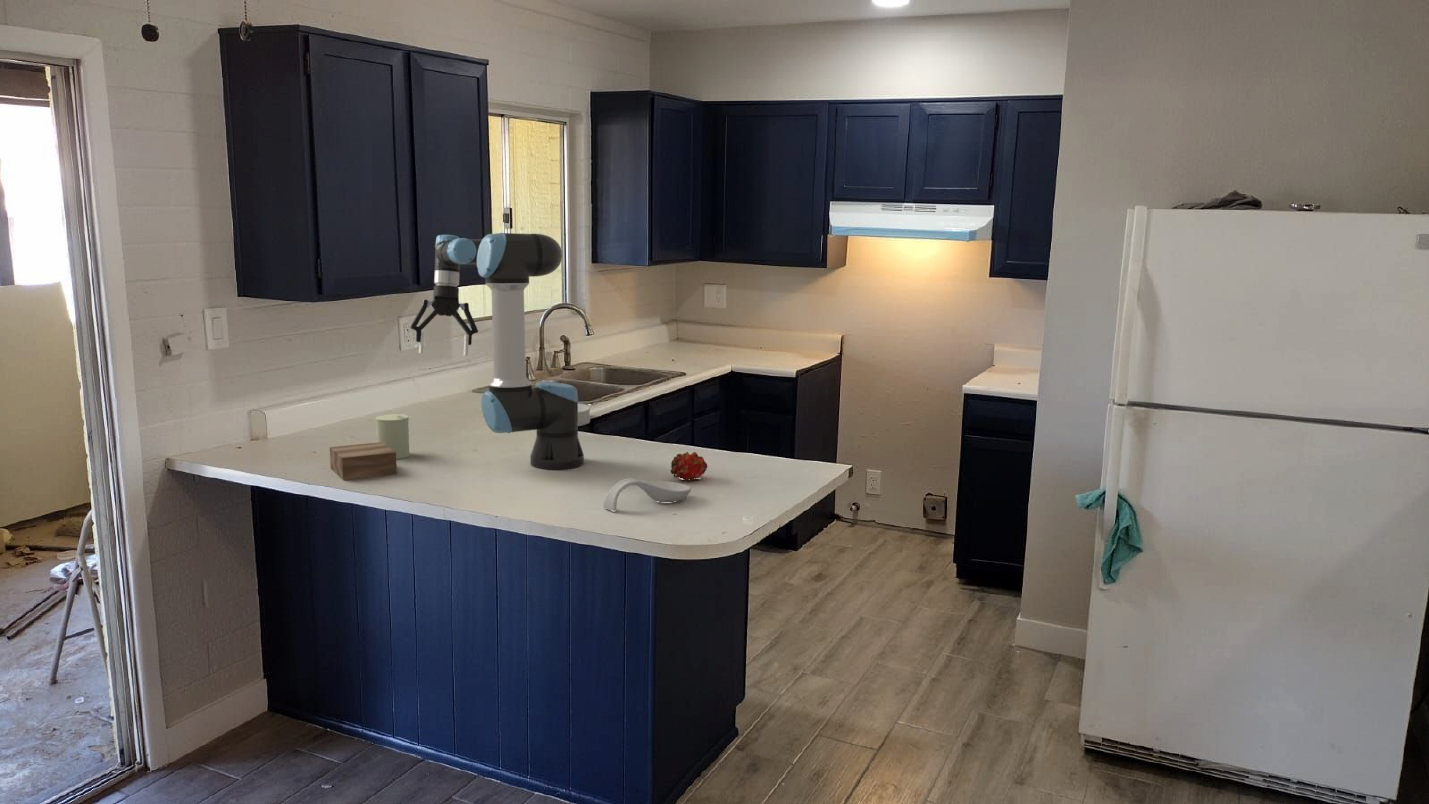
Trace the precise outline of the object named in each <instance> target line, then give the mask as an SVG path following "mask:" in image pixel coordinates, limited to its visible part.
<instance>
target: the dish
mask: <svg viewBox="0 0 1429 804" xmlns="http://www.w3.org/2000/svg"><path fill="white" fill-rule="evenodd" d="M590 410H591V408H590V406H589V405H587V404H584V403H579V402H578V427H582V426H585V425H588V424H590V423H591V413H590Z"/></svg>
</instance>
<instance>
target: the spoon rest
mask: <svg viewBox="0 0 1429 804" xmlns="http://www.w3.org/2000/svg"><path fill="white" fill-rule="evenodd" d="M630 486H637V487H638V488H640V489H641V490H643V491H644V493H645V494H646V495H647V496H648V497H649V498H650V499H651V500H653V501H654V500H655V501H659V502H674V501H678V502H679V500H680V501H682V500H683V499H685V498H686V497H687V496H688V495H689V494H690V493H691V491H692V487H691V486H690V485H688V484H687V485H686V484H683V483H680V482H675V481H674V482H673V481H664V480H663V481H659V480H657V481H652V480H651V481H649V480H643V479H638V478H633V477H631V478H630V477H629V478H625V479H621V480H620V481H618V482H617V483H614V485H613V486H612V487H611V488H609V489H610V490H609V491H608V492H607V494H606V496H605V498H604V501H603V508H604V507H605V508H607V509H609V510H614V511H615V510H616V511H617V505H618V504H617V502H618V498H619V495H620V494H621V492H622V491H623V490H625V489H626V488H629V487H630ZM655 501H654V502H655Z"/></svg>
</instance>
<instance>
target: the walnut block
mask: <svg viewBox="0 0 1429 804" xmlns="http://www.w3.org/2000/svg"><path fill="white" fill-rule="evenodd" d="M329 461H330V469H331V470H332V471H333V473H335V474H336V475H337V476H338V477H339V478H340V479H342V481H347V480H349V481H350V480H356V479H357V478H358V479H364V478H365V477H366V478H374V477H381V476H382V477H383V476H390V475H397V474H398V471H397V468H398V466H397V459H396V452H395V451H394V450H392V449H391V448H389V447H388V446H387V445H385V444H384V443H382V442H378V443H377V442H368V443H359V444H350V445H339V446H329Z"/></svg>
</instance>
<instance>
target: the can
mask: <svg viewBox="0 0 1429 804" xmlns="http://www.w3.org/2000/svg"><path fill="white" fill-rule="evenodd" d="M375 429H376V431H375V432H376V443H378V442H382V443H384V444H385V445H387V446H388V447H389V448H391V449H392V450H394V451H395V452H396V460H401V459H402V458H403V459H406V458H408V456H409V457H410V456H411V453H410V434H409V416H408V415H407V414H401V413H389V414H388V413H386V414H381V415H377V416H376V417H375Z"/></svg>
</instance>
